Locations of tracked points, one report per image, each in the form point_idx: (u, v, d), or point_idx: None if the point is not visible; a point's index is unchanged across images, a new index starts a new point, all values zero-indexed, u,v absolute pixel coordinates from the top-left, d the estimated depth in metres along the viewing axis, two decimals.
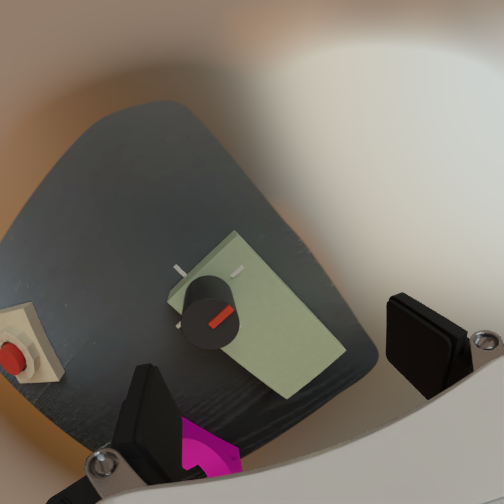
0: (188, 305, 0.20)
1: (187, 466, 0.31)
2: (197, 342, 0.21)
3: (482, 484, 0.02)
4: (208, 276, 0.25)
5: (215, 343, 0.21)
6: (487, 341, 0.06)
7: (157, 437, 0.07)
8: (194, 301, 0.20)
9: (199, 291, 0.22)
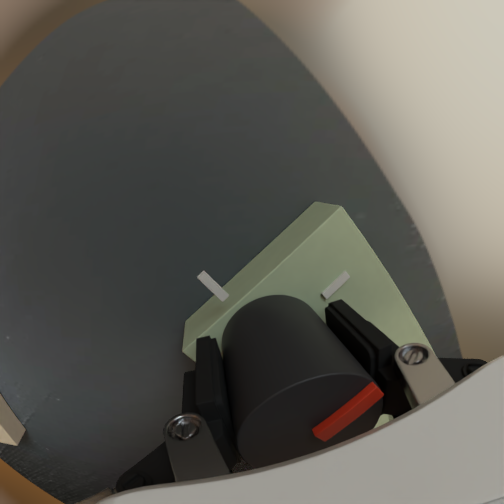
0: (262, 397, 0.06)
1: None
2: None
3: (482, 484, 0.02)
4: (278, 297, 0.11)
5: None
6: (414, 354, 0.07)
7: (227, 400, 0.08)
8: (282, 385, 0.06)
9: (281, 346, 0.08)
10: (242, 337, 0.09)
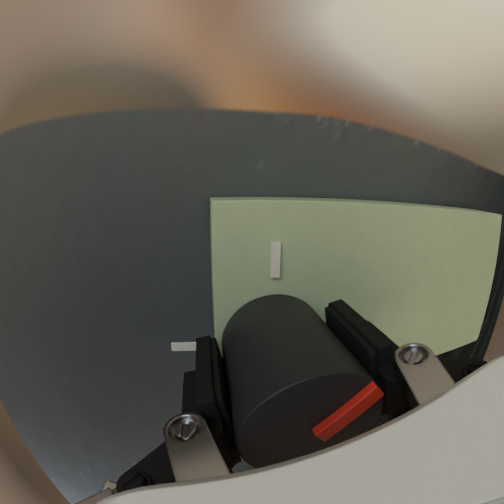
0: (262, 396, 0.06)
1: None
2: None
3: (482, 484, 0.02)
4: (278, 297, 0.11)
5: None
6: (414, 354, 0.07)
7: (227, 400, 0.08)
8: (281, 385, 0.06)
9: (281, 346, 0.08)
10: (242, 336, 0.09)
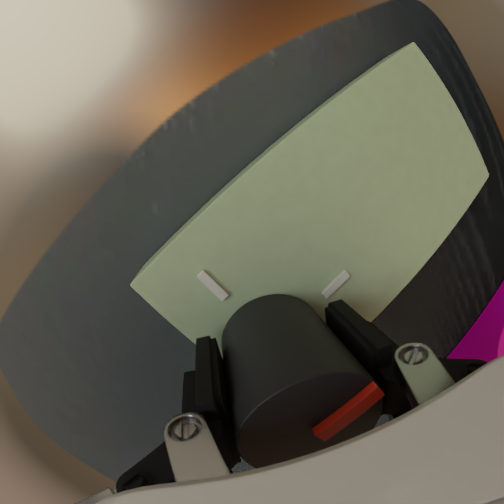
0: (262, 395, 0.06)
1: None
2: None
3: (482, 484, 0.02)
4: (279, 297, 0.11)
5: None
6: (414, 354, 0.07)
7: (227, 400, 0.08)
8: (283, 384, 0.06)
9: (282, 345, 0.08)
10: (242, 336, 0.09)
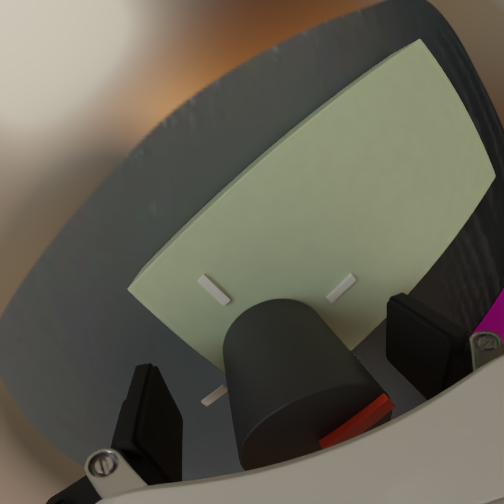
0: (270, 407, 0.06)
1: None
2: None
3: (482, 484, 0.02)
4: (284, 302, 0.11)
5: None
6: (487, 341, 0.06)
7: (157, 437, 0.07)
8: (291, 396, 0.06)
9: (289, 354, 0.07)
10: (247, 342, 0.09)
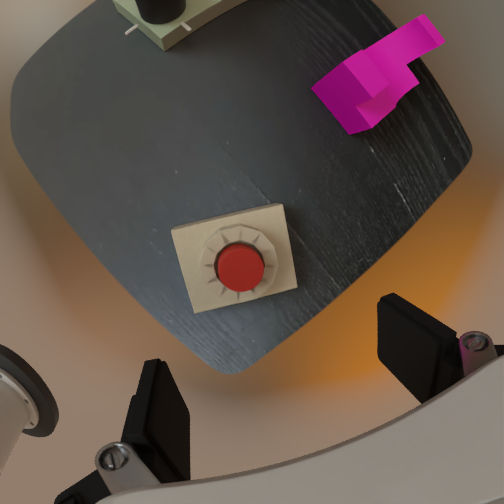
0: None
1: (413, 80, 0.23)
2: None
3: (482, 484, 0.02)
4: None
5: None
6: (476, 342, 0.06)
7: (167, 430, 0.07)
8: None
9: None
10: None
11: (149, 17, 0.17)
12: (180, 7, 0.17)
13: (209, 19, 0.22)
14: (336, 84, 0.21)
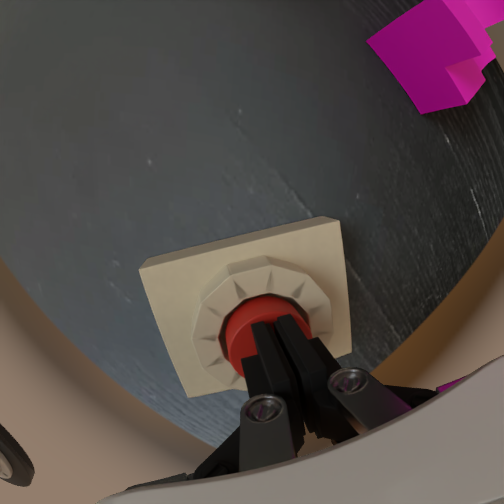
0: None
1: (489, 51, 0.12)
2: None
3: (482, 484, 0.02)
4: None
5: None
6: (348, 379, 0.07)
7: None
8: None
9: None
10: None
11: None
12: None
13: None
14: (416, 31, 0.10)
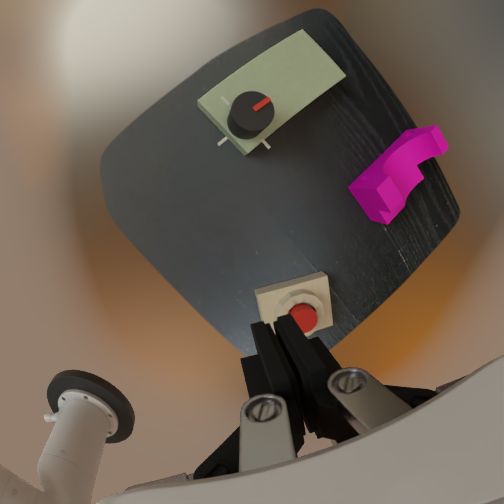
0: (238, 95, 0.26)
1: (420, 176, 0.37)
2: (241, 122, 0.27)
3: (482, 484, 0.02)
4: None
5: (255, 125, 0.27)
6: (348, 379, 0.07)
7: None
8: None
9: None
10: None
11: (239, 136, 0.31)
12: None
13: None
14: (368, 195, 0.35)
